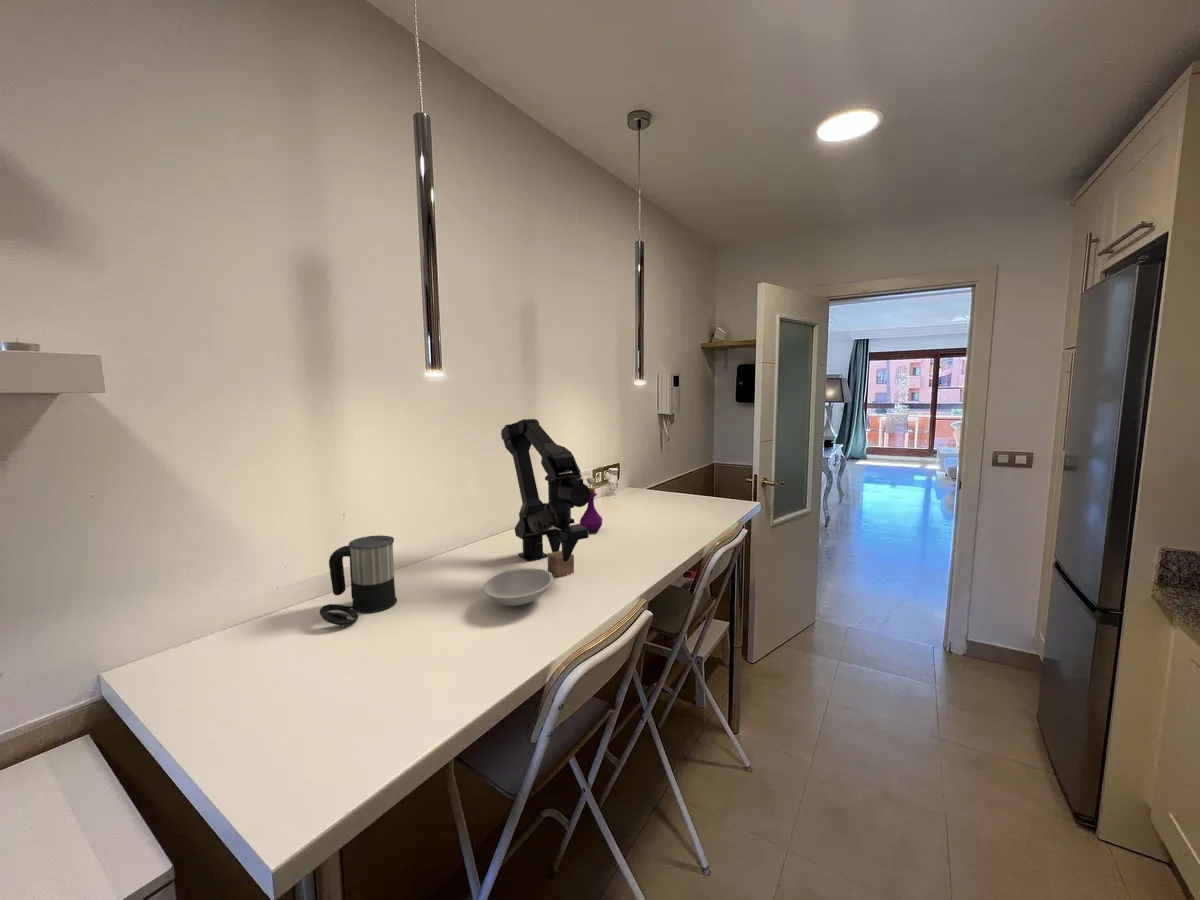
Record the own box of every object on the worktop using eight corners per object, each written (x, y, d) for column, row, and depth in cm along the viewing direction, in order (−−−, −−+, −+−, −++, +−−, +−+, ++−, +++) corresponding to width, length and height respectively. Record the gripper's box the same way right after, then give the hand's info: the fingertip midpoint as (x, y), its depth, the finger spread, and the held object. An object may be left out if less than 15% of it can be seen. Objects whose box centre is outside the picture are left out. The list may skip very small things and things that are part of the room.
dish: (515, 584, 124) (515, 564, 124) (566, 594, 118) (566, 573, 117) (468, 613, 108) (467, 591, 108) (524, 626, 102) (523, 602, 102)
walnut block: (547, 571, 132) (547, 553, 132) (564, 567, 135) (563, 549, 135) (557, 577, 128) (556, 558, 128) (574, 573, 131) (573, 554, 130)
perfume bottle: (602, 533, 167) (601, 480, 164) (579, 534, 167) (578, 480, 165) (602, 527, 174) (602, 476, 172) (580, 527, 174) (580, 476, 172)
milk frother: (399, 594, 119) (395, 533, 117) (393, 623, 104) (389, 554, 102) (332, 602, 115) (327, 538, 113) (316, 634, 100) (310, 561, 98)
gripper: (515, 497, 133) (516, 554, 134) (549, 511, 117) (550, 575, 119) (552, 492, 139) (553, 547, 141) (589, 504, 123) (590, 566, 125)
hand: (560, 558), depth 131 cm, fingers closed on walnut block, 5 cm apart
